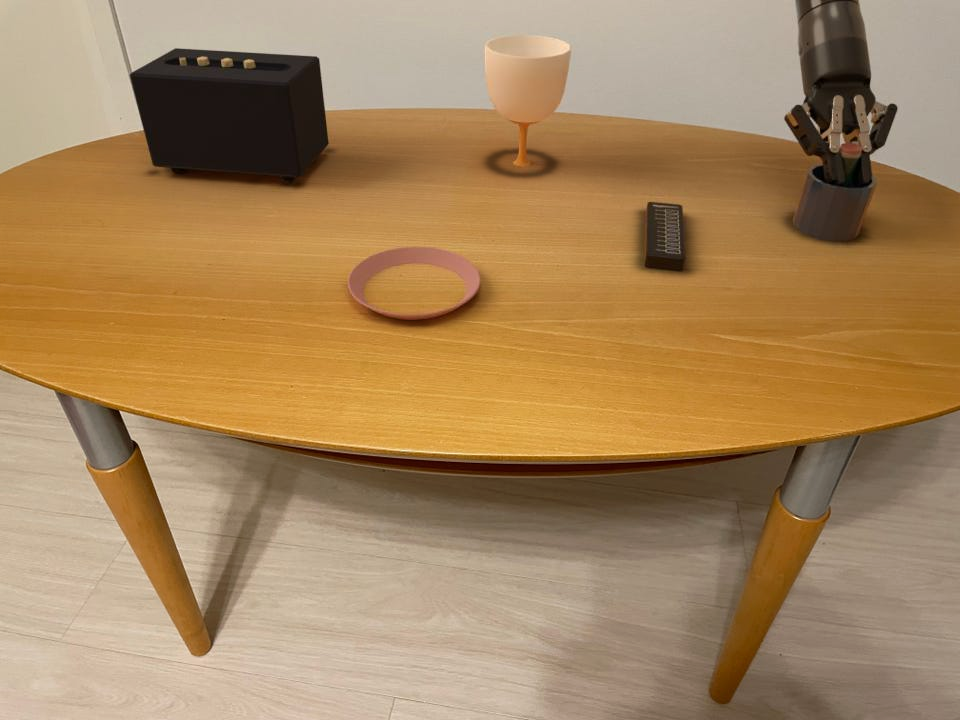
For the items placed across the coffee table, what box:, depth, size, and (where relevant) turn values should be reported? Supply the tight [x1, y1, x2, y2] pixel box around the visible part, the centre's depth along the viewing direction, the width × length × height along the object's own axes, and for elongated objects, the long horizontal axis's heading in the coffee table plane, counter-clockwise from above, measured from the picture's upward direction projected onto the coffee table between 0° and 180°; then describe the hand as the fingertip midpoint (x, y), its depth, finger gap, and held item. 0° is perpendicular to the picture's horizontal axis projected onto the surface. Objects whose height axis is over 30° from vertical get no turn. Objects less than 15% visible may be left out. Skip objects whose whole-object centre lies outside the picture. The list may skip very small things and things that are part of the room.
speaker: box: [129, 47, 330, 183], centre depth 104 cm, size 22×13×15 cm, turn 82°
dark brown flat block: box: [643, 201, 686, 272], centre depth 90 cm, size 4×14×2 cm, turn 169°
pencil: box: [838, 142, 862, 188], centre depth 90 cm, size 2×2×8 cm
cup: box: [484, 34, 572, 168], centre depth 105 cm, size 12×12×17 cm
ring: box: [347, 246, 482, 321], centre depth 81 cm, size 14×14×2 cm
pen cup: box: [792, 163, 878, 243], centre depth 92 cm, size 8×8×8 cm
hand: (849, 185), depth 89 cm, fingers closed on pencil, 2 cm apart
